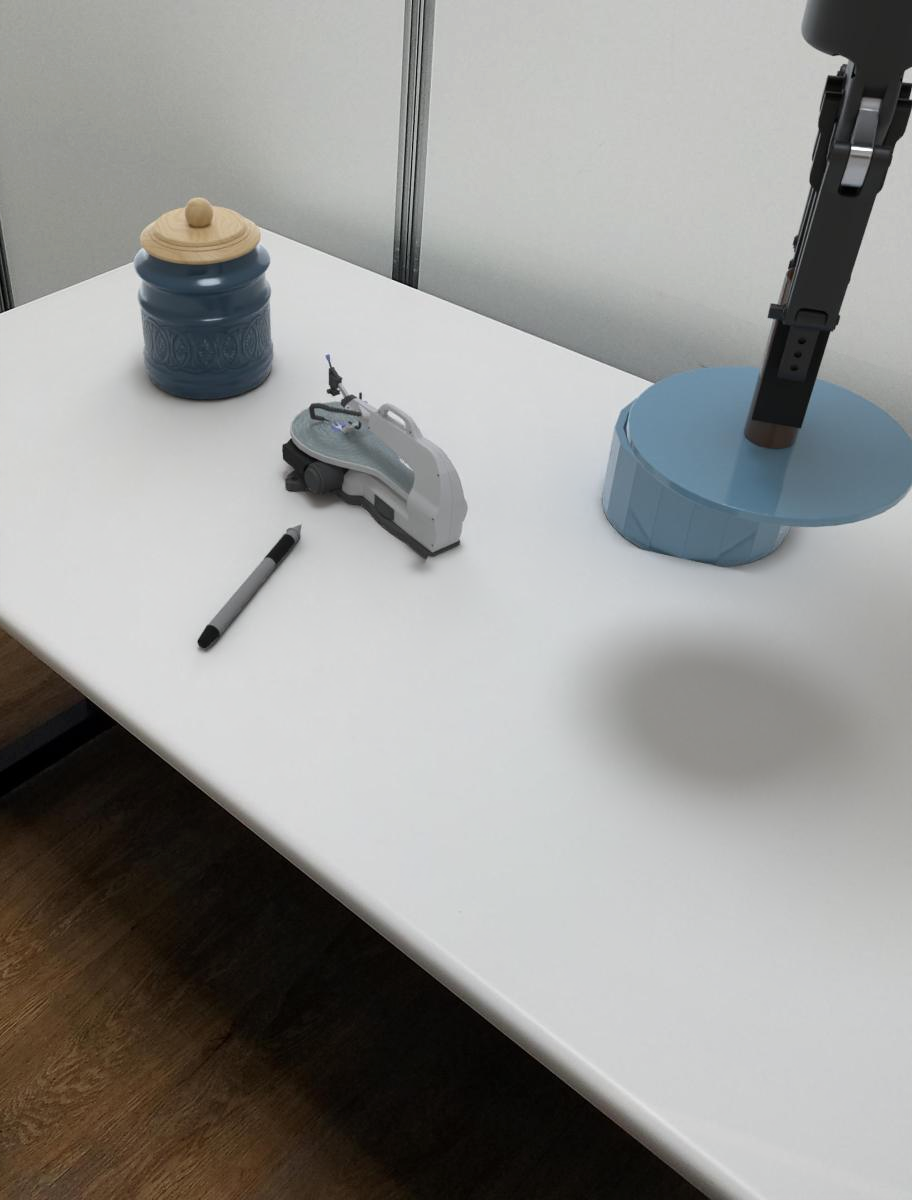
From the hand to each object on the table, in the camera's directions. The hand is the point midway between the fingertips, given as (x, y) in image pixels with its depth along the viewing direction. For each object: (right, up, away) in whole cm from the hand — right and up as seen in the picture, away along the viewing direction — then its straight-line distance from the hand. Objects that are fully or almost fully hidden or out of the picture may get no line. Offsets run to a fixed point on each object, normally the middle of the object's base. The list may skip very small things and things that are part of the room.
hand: (779, 403), depth 69 cm
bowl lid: (0, -2, +2) cm, 3 cm away
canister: (-37, +12, +52) cm, 65 cm away
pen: (-32, -11, +26) cm, 42 cm away
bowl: (+6, -4, +33) cm, 34 cm away
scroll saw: (-21, -3, +35) cm, 41 cm away
